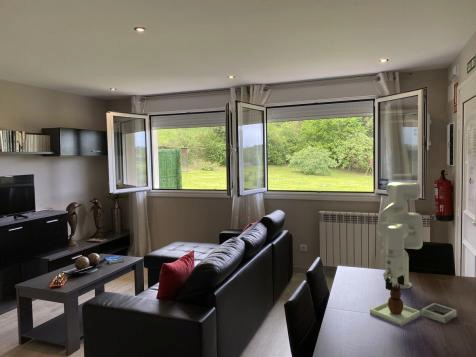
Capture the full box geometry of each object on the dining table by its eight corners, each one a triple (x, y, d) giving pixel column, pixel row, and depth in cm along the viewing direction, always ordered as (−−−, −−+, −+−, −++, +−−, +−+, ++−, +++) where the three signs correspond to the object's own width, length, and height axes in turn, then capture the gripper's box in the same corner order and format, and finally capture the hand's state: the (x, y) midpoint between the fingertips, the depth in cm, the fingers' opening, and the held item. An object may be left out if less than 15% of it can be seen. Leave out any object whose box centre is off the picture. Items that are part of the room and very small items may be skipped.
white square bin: (421, 315, 171) (421, 309, 171) (433, 308, 178) (433, 302, 177) (444, 323, 163) (444, 317, 162) (456, 316, 169) (456, 310, 169)
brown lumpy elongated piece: (405, 315, 170) (405, 283, 169) (395, 317, 168) (395, 285, 167) (395, 309, 176) (395, 279, 175) (385, 311, 174) (385, 280, 173)
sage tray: (370, 313, 174) (370, 308, 174) (389, 305, 183) (389, 300, 183) (401, 326, 161) (401, 321, 161) (420, 316, 170) (420, 311, 170)
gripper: (391, 257, 162) (391, 294, 164) (412, 249, 172) (412, 284, 174) (376, 254, 168) (377, 289, 170) (397, 246, 178) (398, 280, 180)
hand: (395, 286), depth 172 cm, fingers open, 9 cm apart
